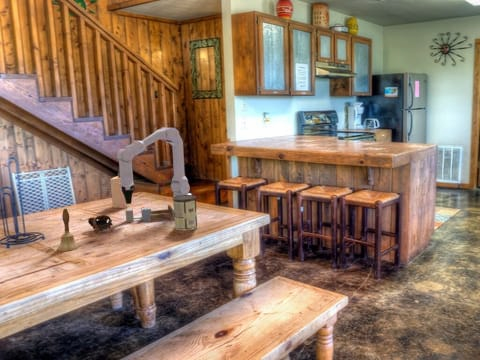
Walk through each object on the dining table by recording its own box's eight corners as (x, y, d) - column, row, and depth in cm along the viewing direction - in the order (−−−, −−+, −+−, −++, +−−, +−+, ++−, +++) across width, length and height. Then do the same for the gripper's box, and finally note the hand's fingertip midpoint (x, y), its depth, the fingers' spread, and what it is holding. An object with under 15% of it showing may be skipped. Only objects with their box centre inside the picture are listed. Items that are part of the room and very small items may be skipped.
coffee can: (182, 223, 206) (180, 194, 203) (201, 225, 202) (200, 195, 199) (170, 229, 197) (168, 198, 194) (189, 231, 192) (188, 200, 190)
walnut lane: (170, 214, 223) (170, 205, 222) (173, 219, 215) (172, 209, 214) (149, 216, 220) (148, 207, 220) (151, 221, 212) (150, 211, 211)
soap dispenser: (126, 207, 241) (123, 168, 238) (112, 207, 243) (109, 168, 239) (136, 202, 254) (134, 164, 250) (123, 202, 255) (120, 164, 252)
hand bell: (72, 243, 181) (68, 205, 179) (83, 247, 176) (79, 208, 173) (53, 248, 175) (48, 209, 172) (64, 252, 170) (59, 212, 167)
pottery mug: (117, 228, 203) (116, 215, 198) (107, 242, 196) (105, 230, 191) (93, 221, 205) (91, 208, 199) (82, 235, 197) (80, 222, 192)
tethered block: (150, 217, 218) (150, 207, 217) (151, 220, 214) (151, 209, 213) (126, 220, 215) (125, 209, 214) (126, 222, 211) (125, 211, 210)
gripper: (117, 172, 215) (119, 199, 218) (117, 177, 202) (120, 206, 204) (132, 171, 217) (134, 198, 220) (133, 175, 204) (135, 204, 206)
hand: (128, 202), depth 212 cm, fingers open, 7 cm apart
